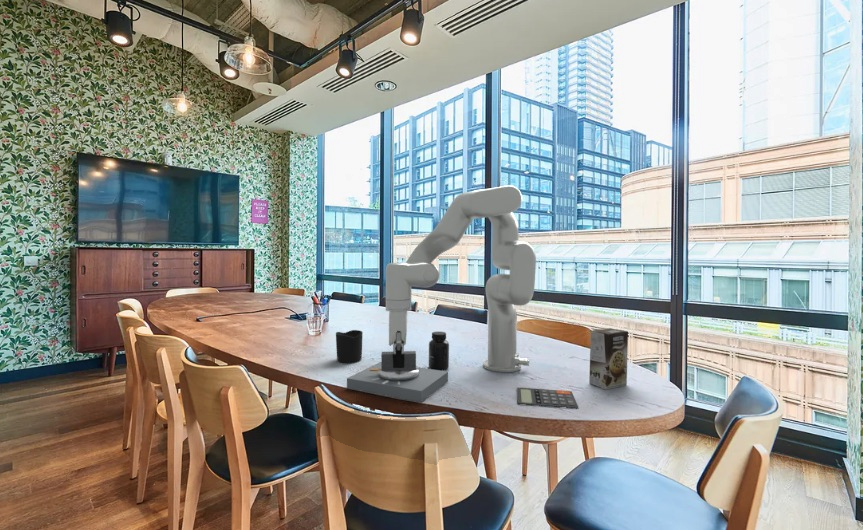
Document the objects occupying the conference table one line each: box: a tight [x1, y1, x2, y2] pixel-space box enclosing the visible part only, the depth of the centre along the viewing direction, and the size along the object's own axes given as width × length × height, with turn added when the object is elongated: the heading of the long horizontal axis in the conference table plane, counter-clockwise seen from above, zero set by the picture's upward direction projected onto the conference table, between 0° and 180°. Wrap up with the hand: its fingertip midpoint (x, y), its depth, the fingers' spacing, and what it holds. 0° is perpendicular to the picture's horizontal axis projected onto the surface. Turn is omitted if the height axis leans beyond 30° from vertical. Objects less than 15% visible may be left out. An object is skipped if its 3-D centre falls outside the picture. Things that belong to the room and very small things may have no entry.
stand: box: [346, 361, 449, 403], centre depth 118 cm, size 24×18×3 cm
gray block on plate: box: [370, 350, 420, 381], centre depth 117 cm, size 14×12×6 cm
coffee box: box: [588, 327, 629, 390], centre depth 118 cm, size 9×6×16 cm
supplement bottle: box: [428, 331, 450, 371], centre depth 134 cm, size 7×7×12 cm
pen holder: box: [335, 329, 363, 364], centre depth 143 cm, size 9×9×10 cm
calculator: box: [516, 387, 579, 410], centre depth 108 cm, size 12×1×15 cm
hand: (398, 362), depth 117 cm, fingers open, 9 cm apart
